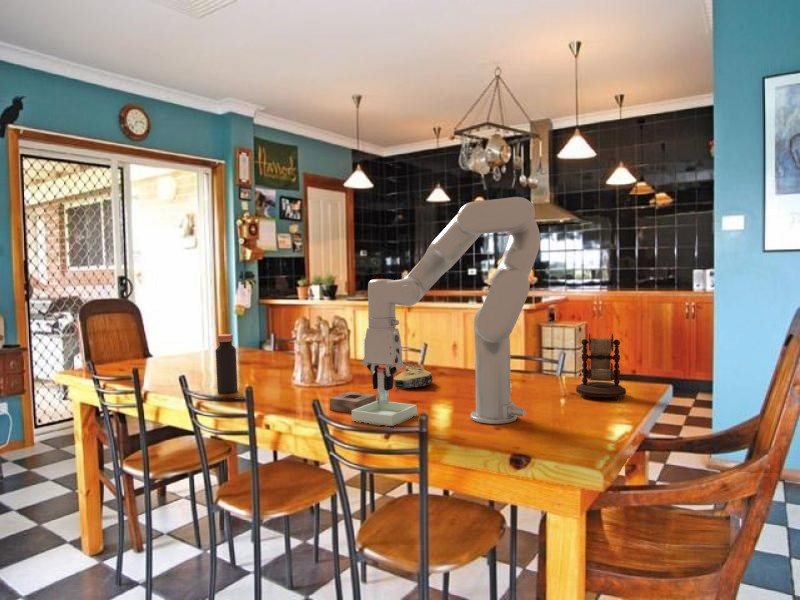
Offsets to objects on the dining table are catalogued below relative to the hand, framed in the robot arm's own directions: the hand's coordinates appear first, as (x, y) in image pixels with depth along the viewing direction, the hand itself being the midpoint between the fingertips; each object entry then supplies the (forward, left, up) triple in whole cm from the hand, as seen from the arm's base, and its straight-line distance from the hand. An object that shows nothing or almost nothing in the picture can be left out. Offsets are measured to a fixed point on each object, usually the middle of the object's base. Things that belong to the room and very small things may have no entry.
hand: (382, 388), depth 159 cm
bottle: (+69, -5, -9) cm, 70 cm away
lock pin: (0, 0, -4) cm, 4 cm away
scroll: (-47, -53, -9) cm, 71 cm away
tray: (0, 0, -9) cm, 9 cm away
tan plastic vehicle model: (+17, -46, -9) cm, 50 cm away
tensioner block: (+15, -6, -9) cm, 18 cm away
